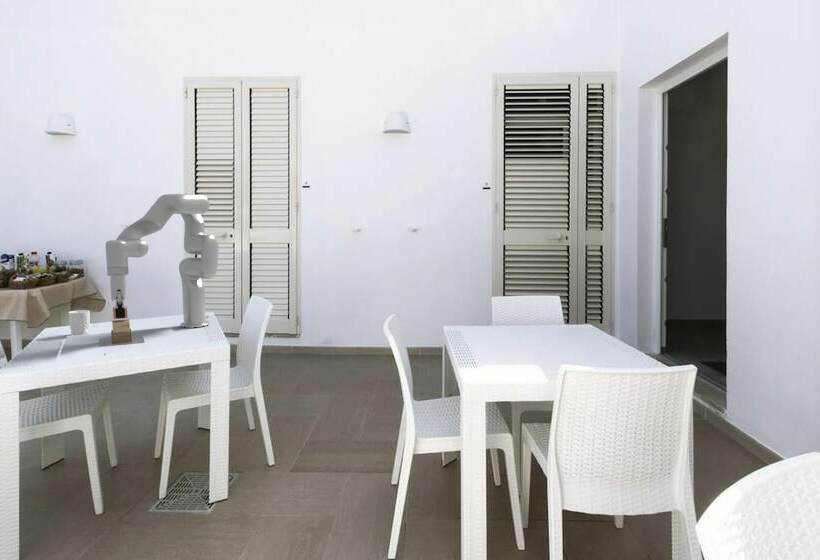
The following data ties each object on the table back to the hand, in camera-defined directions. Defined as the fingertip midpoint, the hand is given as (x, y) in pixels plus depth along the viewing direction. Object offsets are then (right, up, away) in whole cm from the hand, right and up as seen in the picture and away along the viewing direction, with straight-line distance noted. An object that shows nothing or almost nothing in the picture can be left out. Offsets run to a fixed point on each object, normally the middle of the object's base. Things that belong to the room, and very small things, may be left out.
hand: (120, 316), depth 225 cm
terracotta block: (0, -1, 0) cm, 1 cm away
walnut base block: (0, -10, +1) cm, 10 cm away
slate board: (0, -11, +1) cm, 11 cm away
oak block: (0, -6, +1) cm, 6 cm away
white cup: (-26, -9, +17) cm, 32 cm away
